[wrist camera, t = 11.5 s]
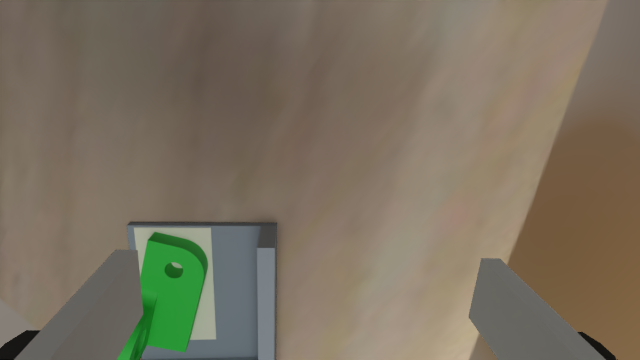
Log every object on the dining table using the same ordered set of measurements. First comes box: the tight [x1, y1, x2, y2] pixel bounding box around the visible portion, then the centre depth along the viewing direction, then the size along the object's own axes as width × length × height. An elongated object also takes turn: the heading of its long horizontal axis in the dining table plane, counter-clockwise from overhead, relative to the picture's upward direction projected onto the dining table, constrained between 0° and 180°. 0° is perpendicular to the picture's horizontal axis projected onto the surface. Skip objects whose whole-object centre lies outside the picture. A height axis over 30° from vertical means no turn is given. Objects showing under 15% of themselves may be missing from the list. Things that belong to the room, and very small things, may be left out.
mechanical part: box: [117, 232, 208, 360], centre depth 36 cm, size 12×6×8 cm, turn 163°
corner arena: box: [127, 222, 277, 360], centre depth 39 cm, size 18×15×6 cm
